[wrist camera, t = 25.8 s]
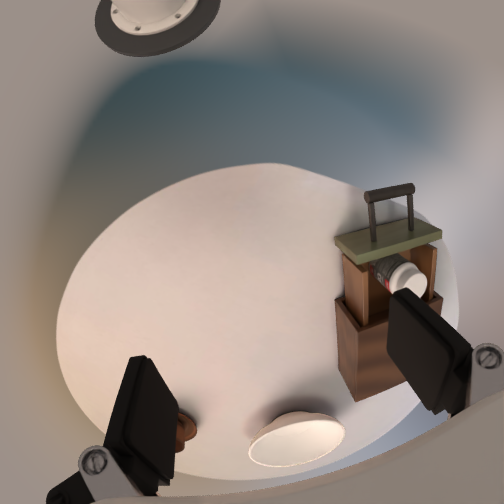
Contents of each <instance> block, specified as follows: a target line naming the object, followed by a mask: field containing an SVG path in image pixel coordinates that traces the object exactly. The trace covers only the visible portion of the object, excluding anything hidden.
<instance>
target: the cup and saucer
mask: <svg viewBox="0 0 504 504" xmlns="http://www.w3.org/2000/svg"><path fill="white" fill-rule="evenodd" d="M196 434H197V428H196V425H195V424H194V422H193V421H192V420H191V419H189V418H188V417H186V416H185V415H183V414H181V413H178V422H177V434H176V448H175V453H178V452H181V451H183V450H184V446H185V441H188V440H190V439H192V438H194V437H195V436H196Z"/></svg>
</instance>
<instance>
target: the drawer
mask: <svg viewBox="0 0 504 504" xmlns="http://www.w3.org/2000/svg"><path fill="white" fill-rule="evenodd" d="M414 192H415V186H414V185H413V183H407V184H403V185H397V186H391V187H387V188H381V189H376V190H372V191H366V192H365V193H364V199H365V201H366V203H368V212H369V223H370V228H368V229H364V230H360V231H356V232H352V233H348V234H344V235H340V236H336V237H334V238H335V245H336V246H337V247H338V248H339V249H340V250H341V251H342V252H344V253H343V254H342V261H343V273H344V286H345V302H346V308H347V310H348V311H349V312H350V314H351V315H352V316H353V318H354V319H355V320H356V322H357V323H358V325H359V326H360V327H364V326H367V325H369V324H372V323H375V322H378V321H380V320H383V319H386V318H388V317H389V301H390V297H391V296H392V295H393V294H392V293H391V292H390V291H389V290H388V289H387V288H385V287H384V286H383V285H382V284H381V283H380V282H379V281H378V280H377V279H376V278H375V277H374V276H373V275H372V274H371V273H370V270H369V262H370V261H372V260H376V259H379V258H382V257H385V256H389V255H392V254H395V253H399V254H400V255H401V256H403V257H404V258H406V259H407V260H409V261H410V262H412V263H413V264H414V265H416V267H417V268H418V270H419V271H420V272H421V273H423V274H424V275H425V276H426V278H427V287H426V290H425V292H424V294H423V295H422V296H421V297H420V298H421V299H422V300H423V301H424V302H427V301H430V300H432V299H433V292H434V283H435V272H436V259H437V248H435V247H433V246H432V245H430V244H428V243H430V242H433V241H436V240H439V239H442V230H441V229H439V228H437V227H435V226H432V225H430V224H428V223H426V222H424V221H422V220H419V219H417V218H415V217H414V213H413V195H412V194H414ZM405 195H407V207H408V218H407V219H403V220H399V221H395V222H391V223H387V224H384V225H380V226H376V221H375V209H374V203H373V202H377V201H382V200H386V199H391V198H396V197H400V196H405Z"/></svg>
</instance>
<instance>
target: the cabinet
mask: <svg viewBox="0 0 504 504" xmlns="http://www.w3.org/2000/svg"><path fill="white" fill-rule="evenodd" d="M425 303H426V304H427V305H429V306H430V307H431V308H432V309H433V310H434V311H435V312H436V313H438V314H439V315H441V309H442V303H443V298H442V297H441V296H440V295H439V294H438V293H436V292H435V291H434V292H433V299H432V300H430V301H427V302H425ZM335 312H336V326H337V344H338V368H339V371H340V373H341V375H342V377H343V379H344V381H345V383H346V385H347V387H348V389H349V391H350V393H351V395H352V397H353V399H354V401H355V402H358V401H360V400H363V399H366V398H368V397H371V396H373V395H376V394H378V393H381V392H383V391H385V390H388V389H390V388H392V387H394V386H397V385H399V384H401V383H403V382H405V381H407V380H406V379H405V377H404V376H403V374H402V373H401V372H400V370H399V369H398V367H397V366H396V365H395V363H394V362H393V361H392V359H391V358H390V356H389V355H388V353H387V349H386V344H387V333H388V320H389V317H388V318H386V319H383V320H380V321H378V322H375V323H372V324H369V325H367V326H364V327H360V326H359V325H358V323H357V322H356V320H355V319H354V318H353V316H352V315H351V314H350V312H349V311H348V310H347V308H346V302H345V297H342V298H338V299H335Z"/></svg>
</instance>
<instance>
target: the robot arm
mask: <svg viewBox="0 0 504 504" xmlns="http://www.w3.org/2000/svg"><path fill="white" fill-rule="evenodd" d="M111 1H112V2H113V3H112V6H111V17H112V20H113V22H114V23H115V25H116V26H117V27H118V28H119V29H120V30H122V31H124V32H126V33H129V34H132V35H151V34H157V33H160V32H163V31H166V30H168V29H170V28H173V27H174V26H176V25H178V24H179V23H181V22H182V21H183V20H185V19H186V18H187V17H188V16H189V15H190V14H191V13H192V12H193V10H194V9H195V7H196V6H197V3H198V1H199V0H111ZM178 17H180V18H178ZM139 29H140V30H139ZM138 30H139V31H138ZM386 349H387V353H388V355H389V356H390V358H391V359H392V361H393V362H394V363H395V365H396V366H397V367H398V369H399V370H400V372H401V373H402V374H403V376H404V377H405V379H406V380H407V382H408V383H409V384H410V386H411V387H412V389H413V390H414V391H415V393H416V394H417V396H418V397H419V399H420V400H421V401H422V403H423V405H424V406H425V407H426V409H427V410H429V411H430V410H432V412H433V413H434V415H436V414H438V413H439V412H441V411H443V410H444V409H445V410H446V411H447V412H448V419H447V421H445V422H443V423H442V424H440V425H438V426H436V427H435V428H433V429H431V430H429V431H427V432H426V433H424V434H422V435H420V436H418V437H416V438H414V439H413V440H410V441H408V442H406V443H404V444H402V445H401V446H398V447H396V448H394V449H392V450H389V451H387V452H385V453H382V454H380V455H378V456H376V457H373V458H370V459H368V460H366V461H363V462H360V463H358V464H355V465H352V466H349V467H347V468H344V469H341V470H338V471H334V472H331V473H328V474H325V475H321V476H318V477H314V478H311V479H307V480H303V481H299V482H295V483H290V484H287V485H281V486H277V487H271V488H266V489H260V490H254V491H247V492H239V493H231V494H221V495H209V496H208V495H207V496H187V497H162V496H161V495H160V494H159V493H158V492H157V491H158V486H169V485H170V479H173V477H174V463H175V448H176V434H177V422H178V411H179V407H178V403H177V401H176V399H175V398H174V396H173V395H172V393H171V391H170V390H169V388H168V387H167V385H166V383H165V382H164V380H163V378H162V377H161V375H160V373H159V372H158V370H157V368H156V367H155V365H154V363H153V361H152V360H151V359H150V358H147V357H146V356H145V355H142V356H135V357H131V358H130V359H129V362H128V365H127V368H126V370H125V374H124V377H123V380H122V383H121V386H120V389H119V392H118V395H117V398H116V401H115V405H114V408H113V411H112V415H111V418H110V422H109V425H108V429H107V433H106V437H105V440H104V444H103V446H98V445H96V446H91V447H89V448H87V449H86V450H84V451H83V453H82V454H81V455H80V457H79V460H78V467H79V471H78V472H76V473H75V474H74V475H72V476H71V477H69V478H68V479H66V480H65V481H63V482H62V483H60V484H59V485H57V486H56V487H54V488H53V489H51V490H50V491H49V493H48V495H47V498H46V504H504V352H503V350H502V349H501V348H499V347H498V346H497V345H494V344H491V343H483V344H480V345H478V346H477V347H476V348H475V349H473V348H472V347H471V345H470V343H468V342H467V341H466V340H465V339H464V338H463V337H462V336H461V335H460V334H459V333H458V332H457V331H456V330H455V329H454V328H453V327H452V326H451V325H450V324H448V323H447V322H446V321H445V320H444V319H443V318H442V317H441V316H440V315H439V314H438V313H436V312H435V311H434V310H433V309H432V308H431V307H430V306H429V305H427V304H426V303H425V302H424V301H423V300H422V299H421V298H419V297H418V296H417V295H416V294H415V293H414V292H413V291H411V290H410V289H409V288H407V287H405V288H402V289H400V290H397V291H395V292H393V295H392V296H391V297H390V301H389V320H388V333H387V344H386Z"/></svg>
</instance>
